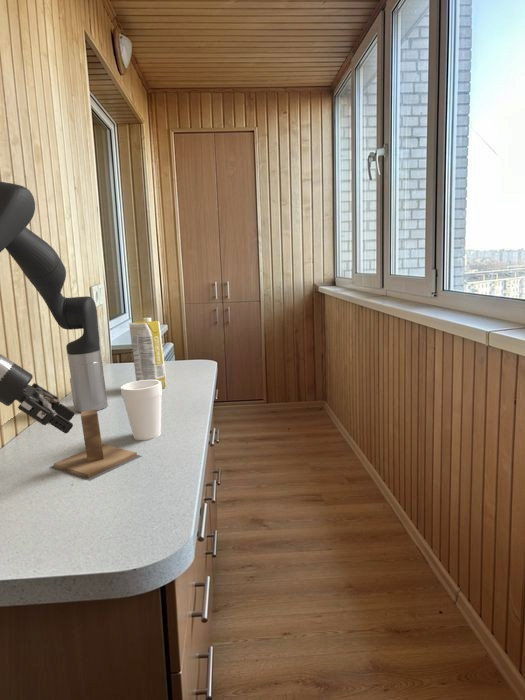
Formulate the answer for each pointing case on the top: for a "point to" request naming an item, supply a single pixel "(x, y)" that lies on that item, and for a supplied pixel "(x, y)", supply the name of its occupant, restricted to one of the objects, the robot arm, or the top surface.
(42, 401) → the robot arm
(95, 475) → the mat
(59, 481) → the top surface
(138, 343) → the juice carton
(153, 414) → the foam cup
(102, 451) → the lid
